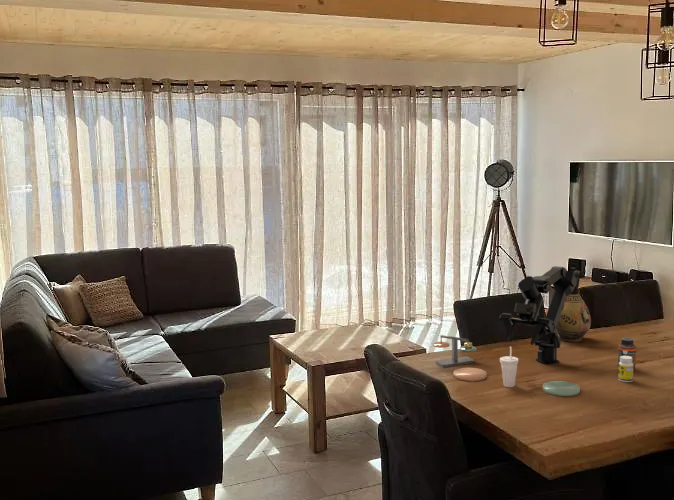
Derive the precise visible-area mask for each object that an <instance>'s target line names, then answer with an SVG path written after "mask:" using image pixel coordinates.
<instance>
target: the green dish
mask: <svg viewBox="0 0 674 500" xmlns="http://www.w3.org/2000/svg"><path fill="white" fill-rule="evenodd" d="M542 390H543V391H544V393H546V394H549V395H552V396H558V397H572V396H573V397H575V396H577V395H579V394H580V393H581V387H580V386H579V385H578V384H576V383H574V382H569V381H566V380H565V381H562V380H552V381H546V382H544V383H543V384H542Z"/></svg>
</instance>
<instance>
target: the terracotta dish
mask: <svg viewBox="0 0 674 500" xmlns="http://www.w3.org/2000/svg"><path fill="white" fill-rule="evenodd" d="M487 375H488V374H487V371H486V370H484V369H481V368H476V367H460V368H456V369H455V370H454V371H453V377H454V378H455V379H456V380H460V381H464V382H465V381H466V382H479V381H483V380H485V379H486V378H487Z"/></svg>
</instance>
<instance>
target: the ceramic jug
mask: <svg viewBox="0 0 674 500" xmlns="http://www.w3.org/2000/svg"><path fill="white" fill-rule="evenodd" d="M581 272H582V271H580V270H574V271H573V272H572V274H573V275H574V276H575V278H576V281H577V283H576V286H575V287H574V290H573V292H572V293H571V294H569V295H568V296H566V299H565V302H564V305H563V308H562V310H561V313H560V316H559V319H558V322H557V325H556V328H557V331H558V336H559V338H560V340H561V341H563V342H568V343H569V342H572V343H578V342H582V340H583V338H584V336H585V335H587V333H589V331H590V328H591V325H592V324H591V323H592V319H591V314H590V311H589V307H588V306H587V304H586V303H585V301H584V300H583V299H582V296H581V295H580V293H579V287H580V280H581Z"/></svg>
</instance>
